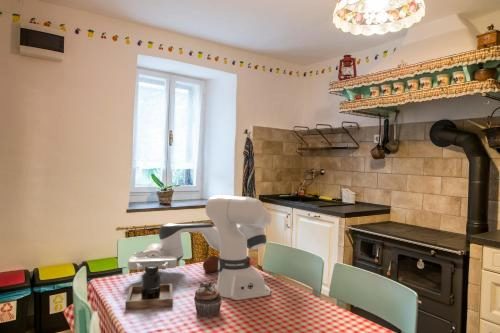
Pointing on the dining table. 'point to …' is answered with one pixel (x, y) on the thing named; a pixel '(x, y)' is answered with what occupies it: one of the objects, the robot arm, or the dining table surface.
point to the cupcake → (207, 301)
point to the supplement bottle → (151, 282)
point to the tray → (138, 303)
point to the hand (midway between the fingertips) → (152, 268)
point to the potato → (211, 264)
